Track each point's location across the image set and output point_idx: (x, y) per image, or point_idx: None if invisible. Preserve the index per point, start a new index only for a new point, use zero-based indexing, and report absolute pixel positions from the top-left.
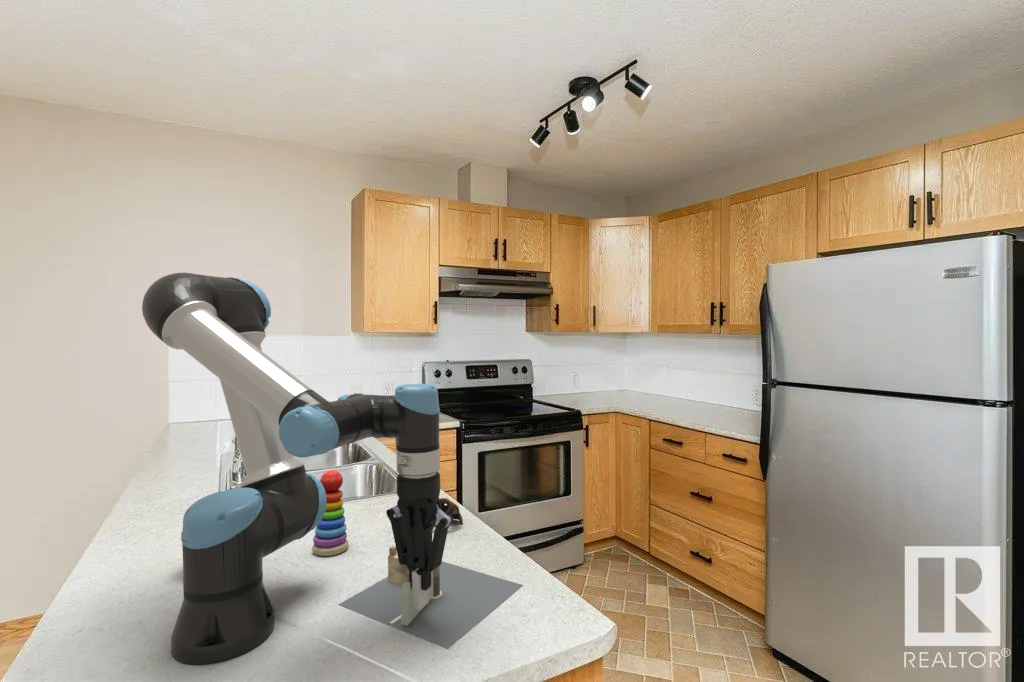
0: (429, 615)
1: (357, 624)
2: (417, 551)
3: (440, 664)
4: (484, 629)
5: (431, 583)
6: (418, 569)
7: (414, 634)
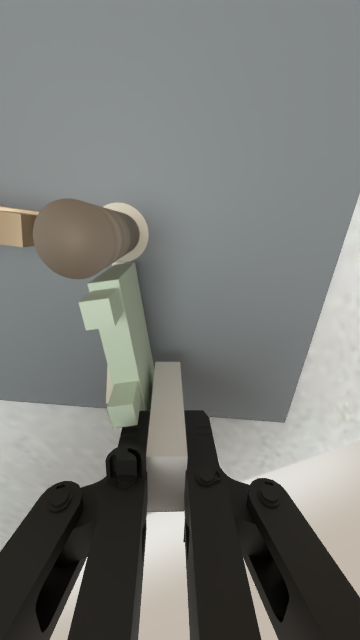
0: (178, 339)
1: (35, 420)
2: (137, 590)
3: (283, 447)
4: (333, 321)
5: (130, 284)
6: (184, 531)
7: None
